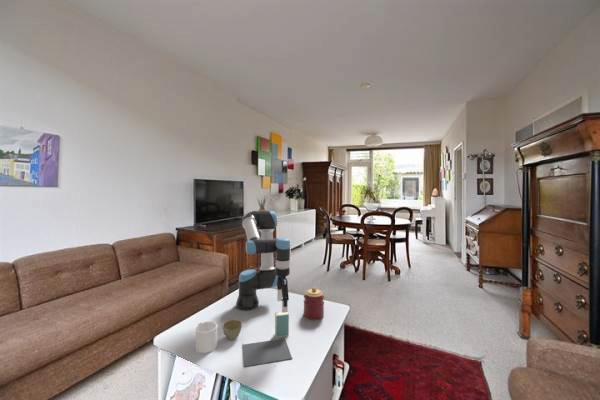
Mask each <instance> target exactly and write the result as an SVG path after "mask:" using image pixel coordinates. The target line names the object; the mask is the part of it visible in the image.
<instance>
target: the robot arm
mask: <svg viewBox="0 0 600 400" xmlns="http://www.w3.org/2000/svg"><path fill="white" fill-rule="evenodd" d="M241 225H242V228H243V229H244V231H245V234H246V241H245V253H246V254H247V255H260V256H261V257H260V263H261V264H260V265H261V266H260V267H259V269H258V271H257V270H256V269H252V268H251V269H245V270H243V271H242V272H240V274H239V275H238V276H239V277H238V297H237V299H236V303H235V308H236V309H238V310H240V311H251V310H255V309H257V308H258V307H259V306H260V305H259V303H260V302H259V301H260V300H259V298H258V295H257V291H258V290H264V289H273V288H277V298H276V299H277V302H281V312H282V313H285V312H288V311H289V310H288V307H289V306H288V303H289V299H290V298H289V289H288V288H289V287H288V282H289V280H288V278H287V277H288V276H289V275H291V274H290V273H291V272H290V271H291V270H290V267H291V259H290V257H291V242H290V241H291V240H290V239H289V238H286V237H279V238H278V237H274V231H275V229H276V227H277V226H278V216H277V213H276V212H275V211H273V210H252V211H249V212H247V213H246V214H245V215H244V216H243V218H242V220H241ZM259 232H260V233H259ZM274 254H275V261H274ZM274 264H275V266H274ZM288 313H289V312H288Z"/></svg>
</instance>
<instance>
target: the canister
mask: <svg viewBox="0 0 600 400" xmlns="http://www.w3.org/2000/svg"><path fill="white" fill-rule="evenodd" d="M304 293H305V294H304V295H303V299H304V300H303V316H304V317H305V318H306V319H309V320H313V321H314V320H316V321H317V320H319V319H322V318H323V317H324V314H325V311H324V310H325V306H324V304H325V301H324V299H325V296H324V294H323V293H324V292H323V291H322V290H320V289H319V288H316V287H314V286H313V287H312V288H308V289H307V290H305V292H304Z"/></svg>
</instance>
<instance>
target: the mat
mask: <svg viewBox="0 0 600 400" xmlns="http://www.w3.org/2000/svg"><path fill="white" fill-rule="evenodd" d="M292 359H293V357H292V354H291V352H290V348H289V346H288V343H287V340H286V338H284V337H283V338H279V339H272V340H267V341H265V340H264V341H257V342H252V343H244V344H242V360H243V361H242V362H243V368H248V367H253V366H255V367H256V366H259V365H260V366H261V365H265V364H271V363H279V362H282V361H290V360H292Z"/></svg>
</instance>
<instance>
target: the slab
mask: <svg viewBox="0 0 600 400" xmlns="http://www.w3.org/2000/svg"><path fill="white" fill-rule="evenodd" d="M289 329H290V314H289V312H285V313H282V311H280V312H275V313H274V337H275V338H276V339H277V338H282V337H283V338H284V337H289V334H290V330H289Z"/></svg>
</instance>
